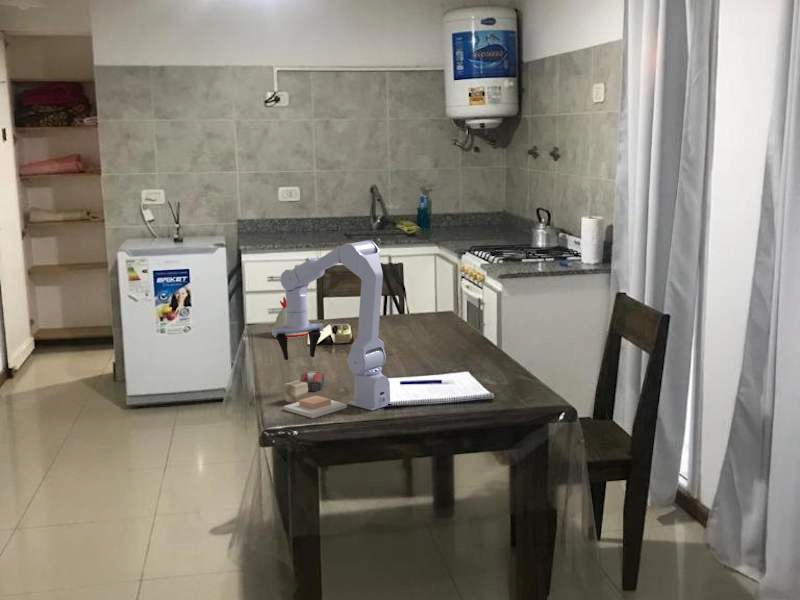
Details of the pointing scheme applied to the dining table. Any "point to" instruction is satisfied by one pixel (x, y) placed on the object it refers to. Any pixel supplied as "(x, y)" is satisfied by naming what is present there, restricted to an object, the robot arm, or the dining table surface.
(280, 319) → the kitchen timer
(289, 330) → the robot arm
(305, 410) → the base plate
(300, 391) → the birch block
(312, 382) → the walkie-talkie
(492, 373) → the dining table surface
